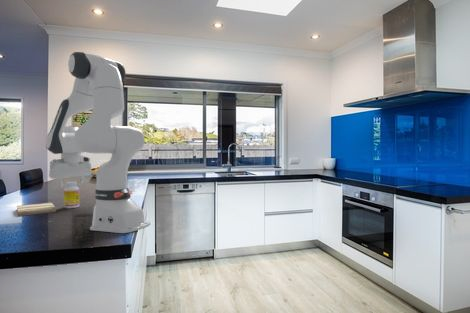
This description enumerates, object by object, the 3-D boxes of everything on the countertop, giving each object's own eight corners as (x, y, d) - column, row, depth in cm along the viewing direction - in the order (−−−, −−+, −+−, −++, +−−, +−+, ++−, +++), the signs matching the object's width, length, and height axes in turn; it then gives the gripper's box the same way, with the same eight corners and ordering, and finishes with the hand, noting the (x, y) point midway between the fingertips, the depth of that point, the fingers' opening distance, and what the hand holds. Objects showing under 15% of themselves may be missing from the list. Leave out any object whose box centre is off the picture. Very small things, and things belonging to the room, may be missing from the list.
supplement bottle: (78, 208, 139) (77, 182, 139) (63, 209, 137) (62, 183, 136) (80, 205, 145) (80, 181, 145) (65, 206, 143) (65, 181, 143)
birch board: (55, 211, 131) (55, 207, 131) (18, 216, 122) (18, 211, 122) (51, 206, 143) (51, 202, 143) (17, 210, 134) (17, 205, 134)
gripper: (53, 159, 130) (54, 189, 130) (93, 158, 148) (93, 184, 149) (45, 159, 133) (46, 188, 133) (85, 157, 151) (85, 183, 151)
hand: (71, 185), depth 141 cm, fingers open, 8 cm apart
